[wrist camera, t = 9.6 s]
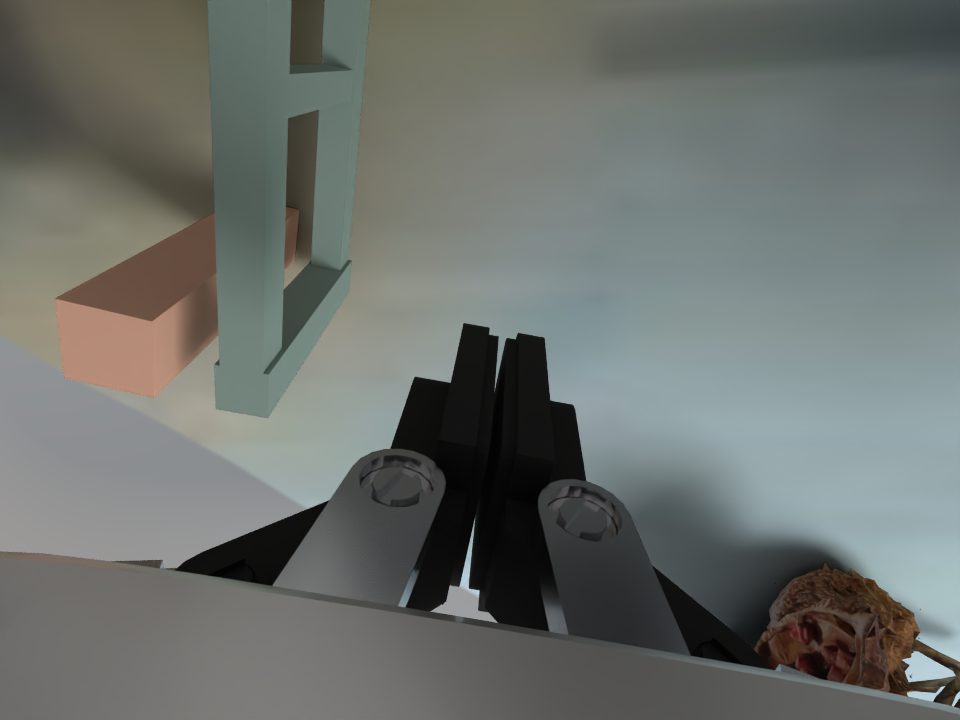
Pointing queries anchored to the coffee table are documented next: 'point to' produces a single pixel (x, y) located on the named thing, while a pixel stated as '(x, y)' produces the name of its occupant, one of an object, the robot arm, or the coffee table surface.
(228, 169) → the gate
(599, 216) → the coffee table surface
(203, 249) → the post
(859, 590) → the seed pod
